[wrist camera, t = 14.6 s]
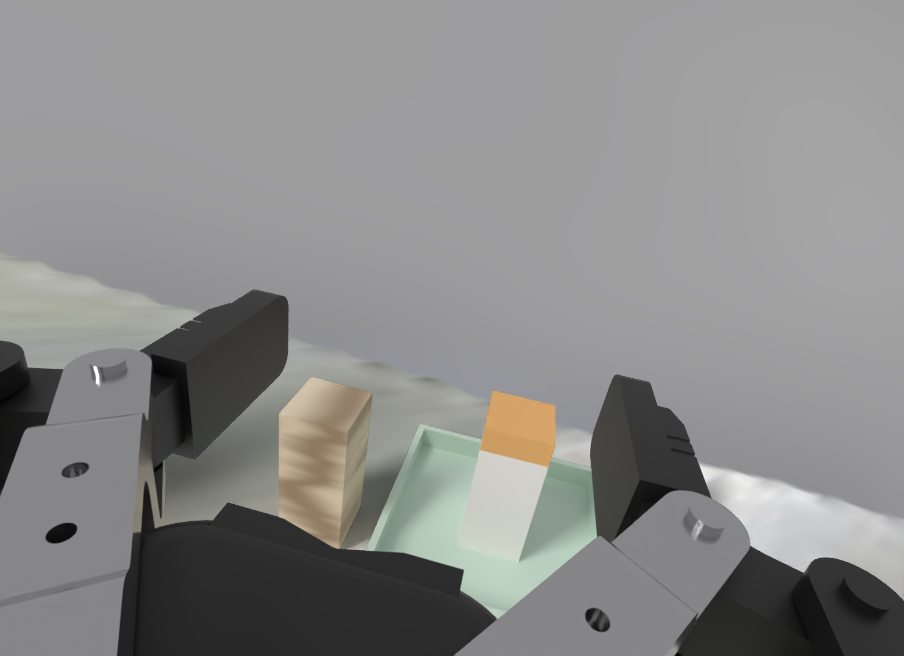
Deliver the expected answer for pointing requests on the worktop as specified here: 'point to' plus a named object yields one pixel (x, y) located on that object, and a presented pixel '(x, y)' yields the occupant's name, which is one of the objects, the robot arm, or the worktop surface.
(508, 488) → the labelled box
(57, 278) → the worktop surface
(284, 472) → the plain box
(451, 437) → the tray
